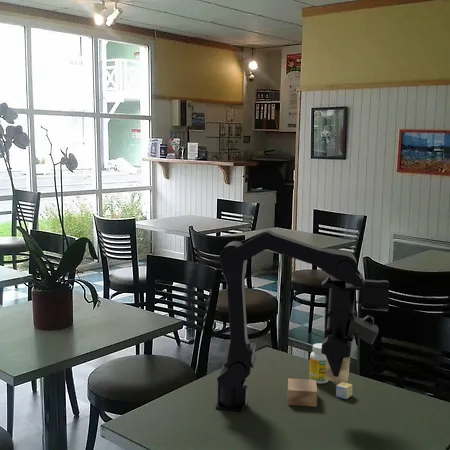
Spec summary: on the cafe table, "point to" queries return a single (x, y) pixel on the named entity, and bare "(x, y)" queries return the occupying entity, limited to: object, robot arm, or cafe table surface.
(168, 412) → the cafe table surface
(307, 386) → the walnut base block
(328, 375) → the maple cube
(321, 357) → the supplement bottle
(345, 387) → the alphabet block
